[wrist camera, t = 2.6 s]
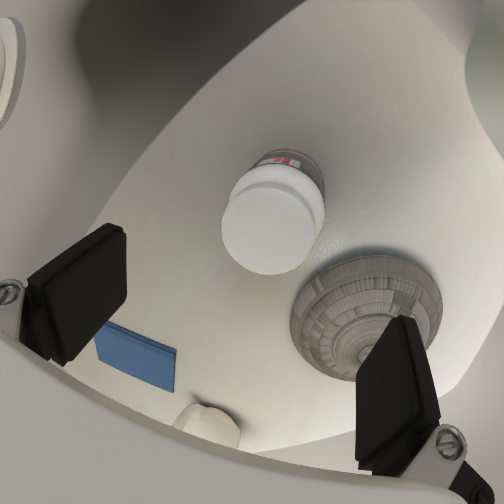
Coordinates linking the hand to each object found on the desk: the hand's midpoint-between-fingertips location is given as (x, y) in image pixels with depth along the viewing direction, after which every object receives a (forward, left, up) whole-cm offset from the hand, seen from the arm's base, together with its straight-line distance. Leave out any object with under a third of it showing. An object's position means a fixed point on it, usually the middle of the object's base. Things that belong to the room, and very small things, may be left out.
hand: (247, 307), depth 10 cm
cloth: (-14, -28, -16) cm, 35 cm away
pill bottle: (0, 0, -16) cm, 16 cm away
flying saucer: (+11, -10, -16) cm, 21 cm away
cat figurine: (-1, -36, -16) cm, 39 cm away
